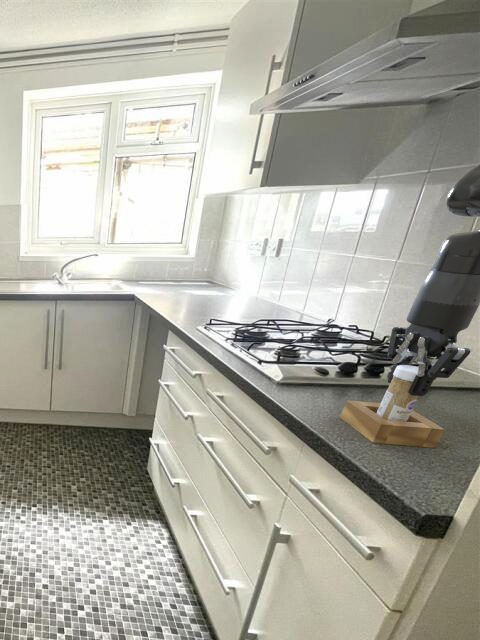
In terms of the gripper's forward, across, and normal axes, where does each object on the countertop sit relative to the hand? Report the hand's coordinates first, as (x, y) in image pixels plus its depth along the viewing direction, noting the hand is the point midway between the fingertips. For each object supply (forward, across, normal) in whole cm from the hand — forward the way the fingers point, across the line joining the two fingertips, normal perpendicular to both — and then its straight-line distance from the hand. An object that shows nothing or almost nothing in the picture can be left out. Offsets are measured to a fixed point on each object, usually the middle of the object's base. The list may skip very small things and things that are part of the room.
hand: (404, 388), depth 78 cm
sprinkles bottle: (+10, 0, 0) cm, 10 cm away
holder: (+9, 0, 0) cm, 9 cm away
